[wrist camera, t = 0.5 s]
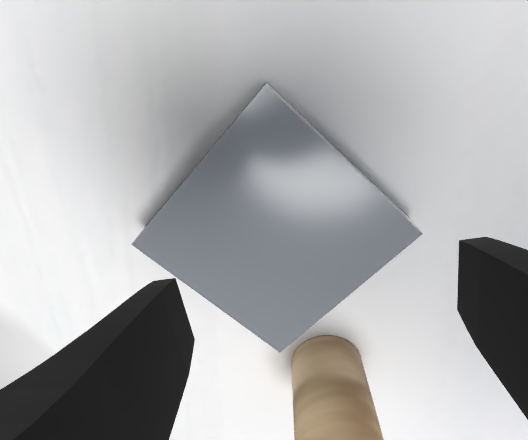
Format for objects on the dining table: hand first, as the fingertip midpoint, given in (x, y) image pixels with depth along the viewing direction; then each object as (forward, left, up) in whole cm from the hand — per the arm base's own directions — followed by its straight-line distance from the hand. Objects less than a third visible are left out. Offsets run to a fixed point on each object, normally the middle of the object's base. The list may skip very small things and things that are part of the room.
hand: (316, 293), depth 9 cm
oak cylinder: (-10, +8, -10) cm, 16 cm away
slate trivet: (-1, +3, -10) cm, 10 cm away
